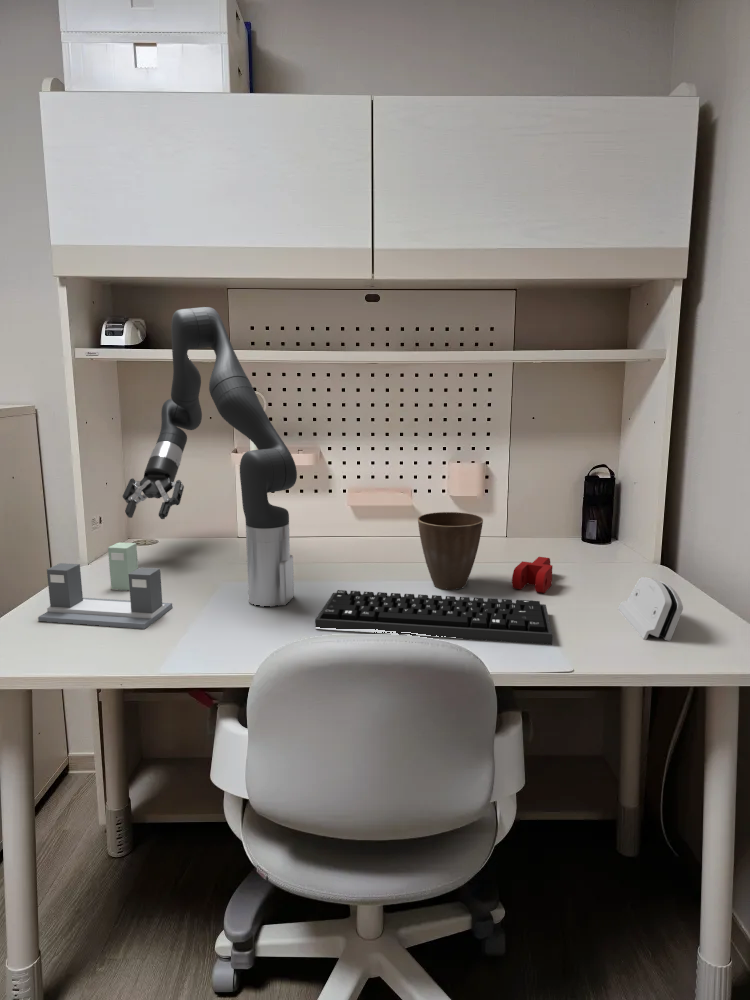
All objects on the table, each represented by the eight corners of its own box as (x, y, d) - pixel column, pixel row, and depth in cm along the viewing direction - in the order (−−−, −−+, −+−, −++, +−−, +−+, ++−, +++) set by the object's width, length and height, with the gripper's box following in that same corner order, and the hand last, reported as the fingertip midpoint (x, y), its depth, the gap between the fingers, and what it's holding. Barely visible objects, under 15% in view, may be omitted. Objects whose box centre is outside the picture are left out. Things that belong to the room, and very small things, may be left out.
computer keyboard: (315, 632, 134) (315, 613, 134) (333, 604, 150) (333, 587, 149) (551, 647, 127) (552, 628, 126) (545, 616, 142) (546, 599, 142)
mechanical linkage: (542, 596, 154) (543, 574, 153) (511, 591, 157) (512, 570, 156) (559, 576, 168) (560, 556, 167) (530, 572, 171) (531, 553, 170)
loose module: (139, 584, 161) (136, 543, 159) (129, 590, 157) (125, 548, 155) (121, 583, 162) (118, 542, 160) (110, 589, 158) (107, 547, 156)
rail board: (172, 607, 146) (169, 563, 144) (144, 628, 135) (141, 581, 133) (73, 601, 150) (69, 558, 148) (38, 621, 138) (33, 575, 136)
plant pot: (406, 589, 157) (407, 522, 154) (430, 572, 171) (431, 509, 167) (469, 599, 151) (471, 528, 148) (489, 580, 164) (491, 515, 161)
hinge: (616, 608, 145) (636, 566, 143) (637, 616, 145) (657, 574, 143) (643, 640, 129) (666, 592, 127) (667, 648, 129) (690, 601, 127)
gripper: (132, 453, 174) (111, 507, 166) (185, 455, 172) (166, 509, 163) (144, 471, 180) (124, 523, 172) (195, 472, 178) (177, 526, 169)
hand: (145, 516), depth 167 cm, fingers open, 8 cm apart
